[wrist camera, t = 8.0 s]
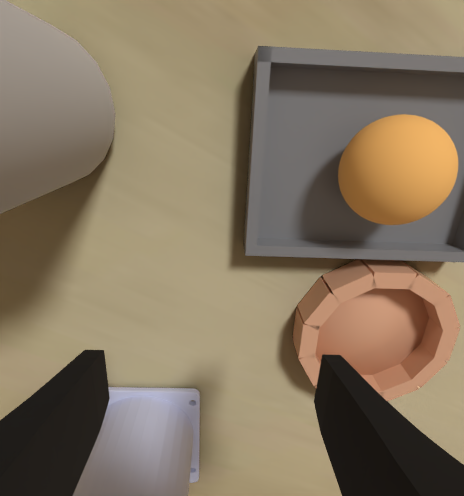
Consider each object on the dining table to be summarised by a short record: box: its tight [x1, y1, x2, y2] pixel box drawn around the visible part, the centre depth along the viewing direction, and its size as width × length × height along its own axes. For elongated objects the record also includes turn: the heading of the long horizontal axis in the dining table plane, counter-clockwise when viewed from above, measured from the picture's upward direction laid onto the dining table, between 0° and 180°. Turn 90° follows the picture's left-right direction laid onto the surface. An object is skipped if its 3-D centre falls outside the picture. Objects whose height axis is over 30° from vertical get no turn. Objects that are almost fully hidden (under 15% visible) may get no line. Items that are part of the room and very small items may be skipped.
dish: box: [292, 259, 460, 401], centre depth 21 cm, size 10×10×2 cm
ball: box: [338, 114, 458, 225], centre depth 16 cm, size 5×5×5 cm
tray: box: [244, 46, 464, 262], centre depth 18 cm, size 10×13×2 cm
